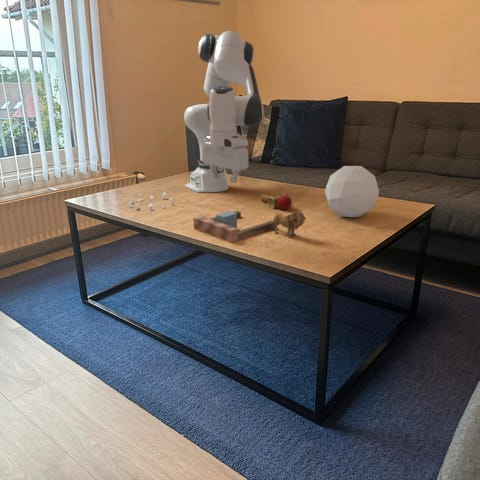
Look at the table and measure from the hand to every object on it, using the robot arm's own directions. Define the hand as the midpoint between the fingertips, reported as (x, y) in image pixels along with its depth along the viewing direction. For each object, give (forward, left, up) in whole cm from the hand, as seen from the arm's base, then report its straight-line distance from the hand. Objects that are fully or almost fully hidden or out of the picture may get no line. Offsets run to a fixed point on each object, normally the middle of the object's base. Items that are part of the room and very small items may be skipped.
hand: (224, 180), depth 155 cm
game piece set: (-49, 0, -19) cm, 52 cm away
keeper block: (0, 0, -18) cm, 18 cm away
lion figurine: (+18, +12, -18) cm, 28 cm away
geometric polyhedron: (+21, +44, -18) cm, 52 cm away
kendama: (-9, +34, -18) cm, 40 cm away
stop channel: (0, +4, -18) cm, 18 cm away
